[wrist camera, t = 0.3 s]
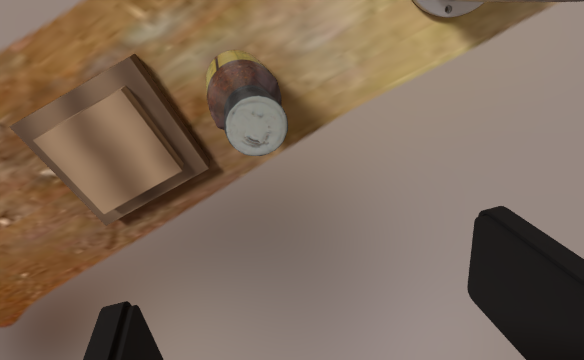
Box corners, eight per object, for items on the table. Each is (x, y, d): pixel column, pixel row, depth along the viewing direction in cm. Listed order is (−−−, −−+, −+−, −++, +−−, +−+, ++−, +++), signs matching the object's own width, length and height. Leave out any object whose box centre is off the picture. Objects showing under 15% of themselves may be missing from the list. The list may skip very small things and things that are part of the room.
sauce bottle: (232, 115, 42) (243, 197, 25) (194, 72, 39) (176, 129, 22) (276, 80, 41) (320, 137, 24) (240, 33, 38) (261, 59, 21)
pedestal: (134, 53, 37) (124, 59, 33) (209, 160, 44) (208, 176, 40) (21, 119, 38) (-2, 133, 34) (111, 214, 45) (101, 235, 41)
